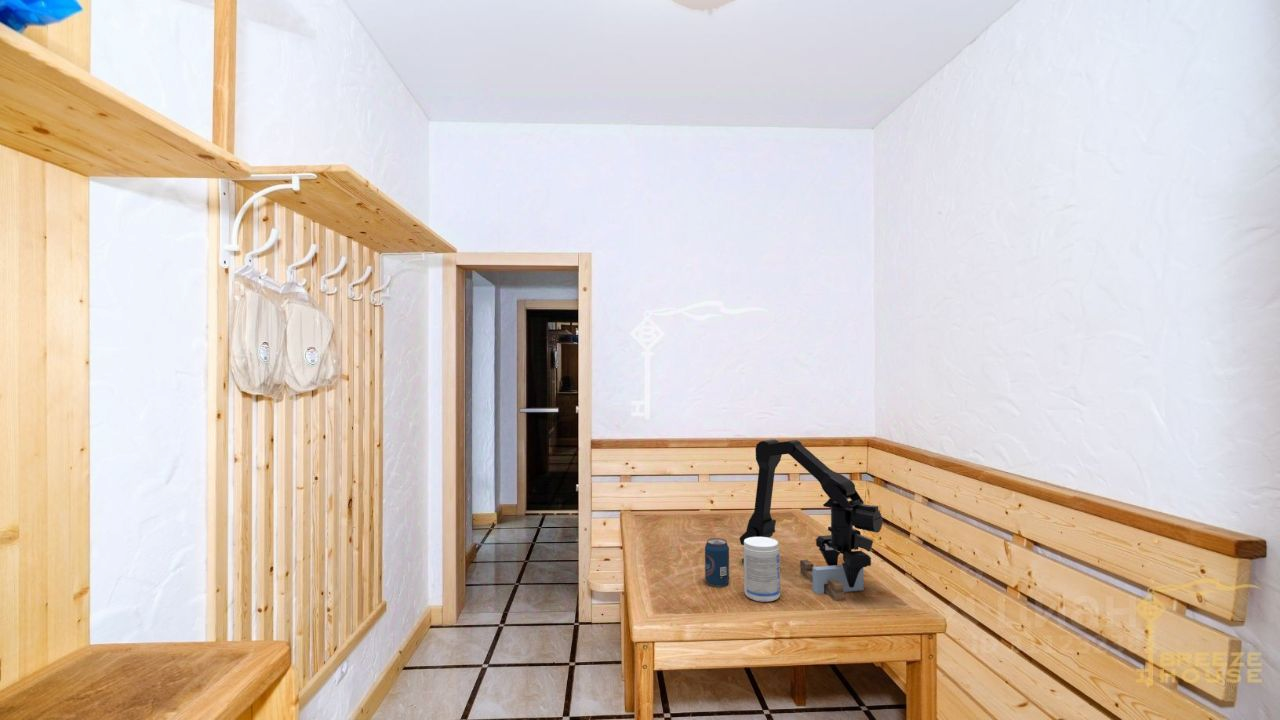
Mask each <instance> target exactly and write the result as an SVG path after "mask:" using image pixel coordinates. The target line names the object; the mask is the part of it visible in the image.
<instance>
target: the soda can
mask: <svg viewBox="0 0 1280 720" xmlns="http://www.w3.org/2000/svg"><path fill="white" fill-rule="evenodd" d="M704 578H705V581H706V583H707V584H708V585H709V586H712V587H715V586H716V587H717V588H719V587H725V586H727V584H728V583H729V581H730V546H729V545H728V542H727V540H726V539H725V538H724V539H723V538H720V537H718V538H717V537H714V538H708V539H707V540H706V544H705V546H704Z"/></svg>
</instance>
